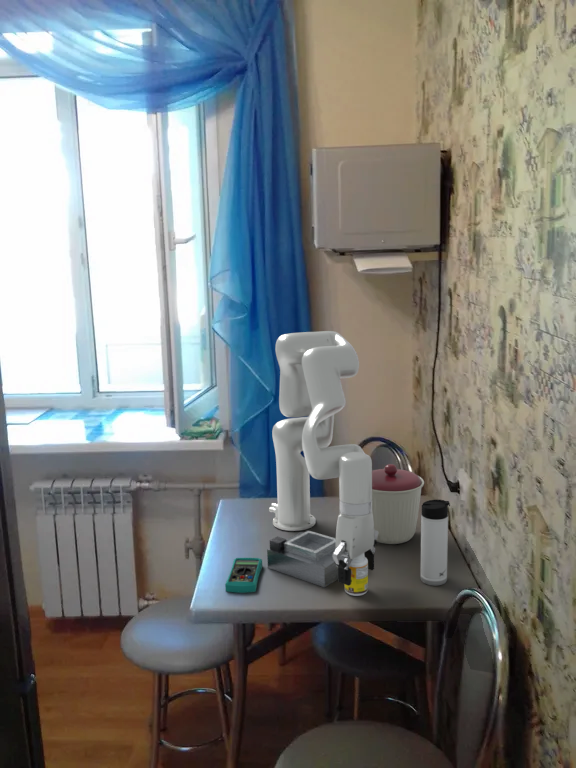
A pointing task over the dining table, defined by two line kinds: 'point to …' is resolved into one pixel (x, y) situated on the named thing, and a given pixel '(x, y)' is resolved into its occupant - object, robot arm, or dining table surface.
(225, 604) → the dining table surface
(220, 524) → the dining table surface
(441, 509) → the travel mug
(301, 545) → the grey square socket fixture
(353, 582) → the supplement bottle
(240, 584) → the digital multimeter
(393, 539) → the canister
